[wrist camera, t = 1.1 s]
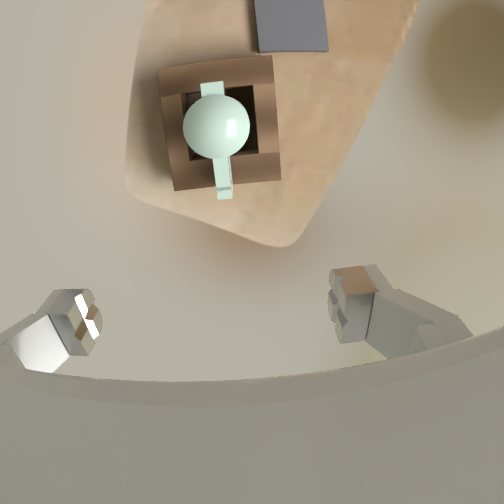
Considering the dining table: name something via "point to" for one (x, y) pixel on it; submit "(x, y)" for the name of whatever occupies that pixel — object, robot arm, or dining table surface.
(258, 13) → the mat
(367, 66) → the dining table surface
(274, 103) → the stand
